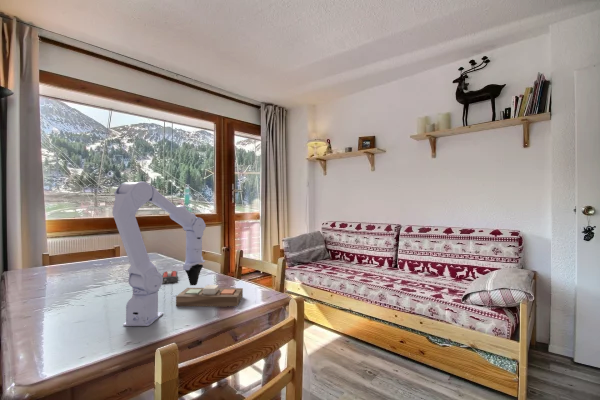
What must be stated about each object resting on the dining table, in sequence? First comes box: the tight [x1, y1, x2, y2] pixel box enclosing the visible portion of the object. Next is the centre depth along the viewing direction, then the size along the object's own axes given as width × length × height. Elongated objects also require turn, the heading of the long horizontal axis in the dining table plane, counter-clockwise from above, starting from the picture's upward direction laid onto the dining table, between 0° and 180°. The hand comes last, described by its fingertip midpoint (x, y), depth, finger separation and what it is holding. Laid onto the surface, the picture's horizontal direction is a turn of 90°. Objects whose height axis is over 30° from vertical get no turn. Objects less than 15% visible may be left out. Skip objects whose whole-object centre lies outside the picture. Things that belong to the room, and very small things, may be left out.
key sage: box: [186, 289, 202, 294], centre depth 108 cm, size 4×4×2 cm
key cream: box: [202, 284, 219, 295], centre depth 108 cm, size 4×4×2 cm
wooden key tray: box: [175, 287, 244, 308], centre depth 108 cm, size 10×22×4 cm, turn 90°
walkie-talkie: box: [161, 269, 178, 285], centre depth 133 cm, size 9×4×20 cm
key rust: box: [221, 289, 235, 295], centre depth 108 cm, size 4×4×2 cm
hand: (193, 284), depth 108 cm, fingers closed
